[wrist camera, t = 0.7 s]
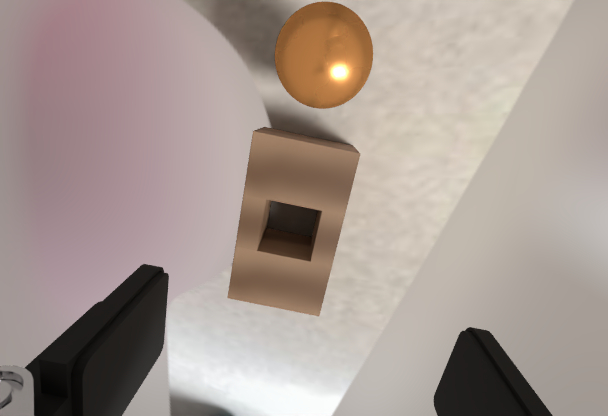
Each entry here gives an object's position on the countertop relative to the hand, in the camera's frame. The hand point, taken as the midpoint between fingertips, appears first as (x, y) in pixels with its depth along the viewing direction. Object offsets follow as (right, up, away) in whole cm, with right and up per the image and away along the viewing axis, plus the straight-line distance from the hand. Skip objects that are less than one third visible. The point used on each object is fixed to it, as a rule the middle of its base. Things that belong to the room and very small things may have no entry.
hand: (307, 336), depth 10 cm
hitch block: (-1, +4, +25) cm, 25 cm away
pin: (+2, +17, +21) cm, 27 cm away
